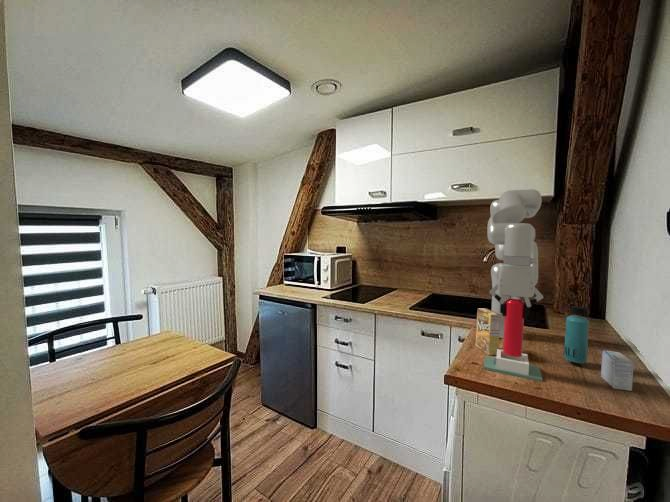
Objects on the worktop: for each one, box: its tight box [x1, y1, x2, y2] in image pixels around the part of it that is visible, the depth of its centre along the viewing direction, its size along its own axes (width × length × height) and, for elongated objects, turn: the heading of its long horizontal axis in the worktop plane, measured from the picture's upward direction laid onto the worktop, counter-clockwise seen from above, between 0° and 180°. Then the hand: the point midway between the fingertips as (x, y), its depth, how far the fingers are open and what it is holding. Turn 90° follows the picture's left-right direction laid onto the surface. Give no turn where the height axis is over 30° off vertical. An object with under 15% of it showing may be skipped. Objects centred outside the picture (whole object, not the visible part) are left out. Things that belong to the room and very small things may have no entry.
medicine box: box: [600, 350, 634, 392], centre depth 89 cm, size 8×4×9 cm, turn 158°
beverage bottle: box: [563, 305, 590, 364], centre depth 103 cm, size 6×7×20 cm
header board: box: [483, 349, 543, 383], centre depth 99 cm, size 10×16×4 cm, turn 60°
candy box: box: [475, 307, 501, 356], centre depth 113 cm, size 9×4×15 cm, turn 6°
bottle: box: [502, 296, 526, 357], centre depth 98 cm, size 5×5×20 cm
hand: (514, 316), depth 98 cm, fingers closed on bottle, 5 cm apart
